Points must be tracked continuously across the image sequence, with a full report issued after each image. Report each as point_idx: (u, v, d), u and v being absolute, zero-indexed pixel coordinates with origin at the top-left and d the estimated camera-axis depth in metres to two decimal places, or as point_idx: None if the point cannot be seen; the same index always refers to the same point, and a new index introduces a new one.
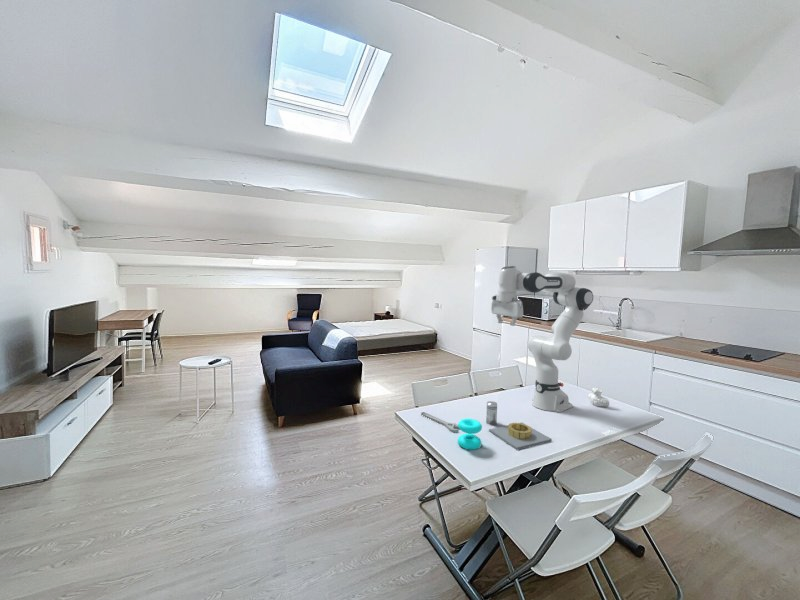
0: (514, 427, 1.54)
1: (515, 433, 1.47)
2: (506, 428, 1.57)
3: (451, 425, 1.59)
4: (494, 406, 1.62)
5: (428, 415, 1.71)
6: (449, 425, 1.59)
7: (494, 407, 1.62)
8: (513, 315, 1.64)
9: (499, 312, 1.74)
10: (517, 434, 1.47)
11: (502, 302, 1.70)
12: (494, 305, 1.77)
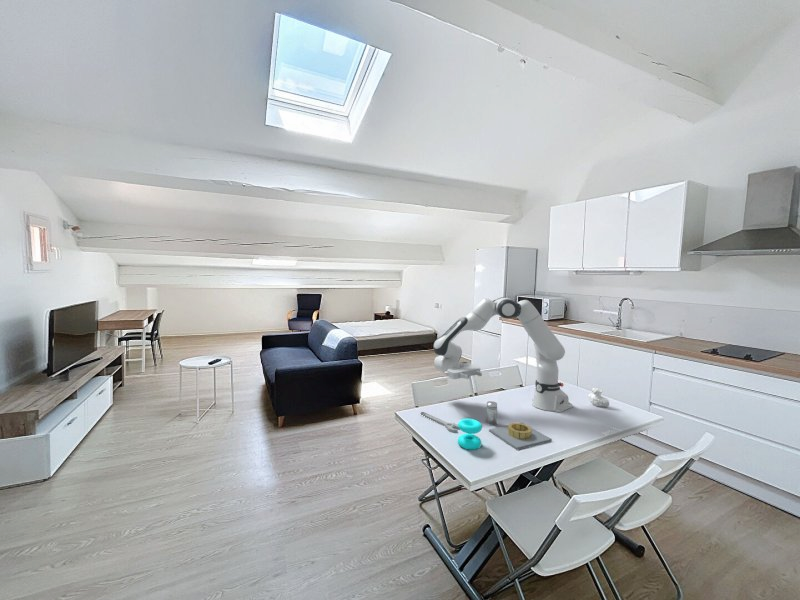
0: (514, 427, 1.54)
1: (515, 433, 1.47)
2: (506, 428, 1.57)
3: (450, 425, 1.59)
4: (494, 406, 1.62)
5: (427, 415, 1.71)
6: (448, 425, 1.59)
7: (494, 407, 1.62)
8: None
9: None
10: (517, 434, 1.47)
11: None
12: None
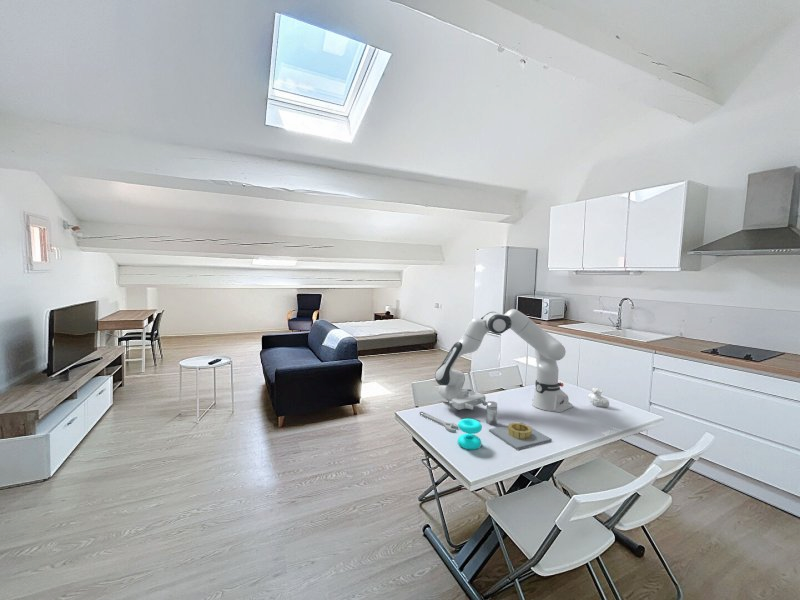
0: (514, 427, 1.54)
1: (515, 433, 1.47)
2: (506, 428, 1.57)
3: (449, 425, 1.59)
4: (494, 406, 1.62)
5: (426, 415, 1.71)
6: (447, 425, 1.59)
7: (494, 407, 1.62)
8: None
9: None
10: (517, 434, 1.47)
11: None
12: None
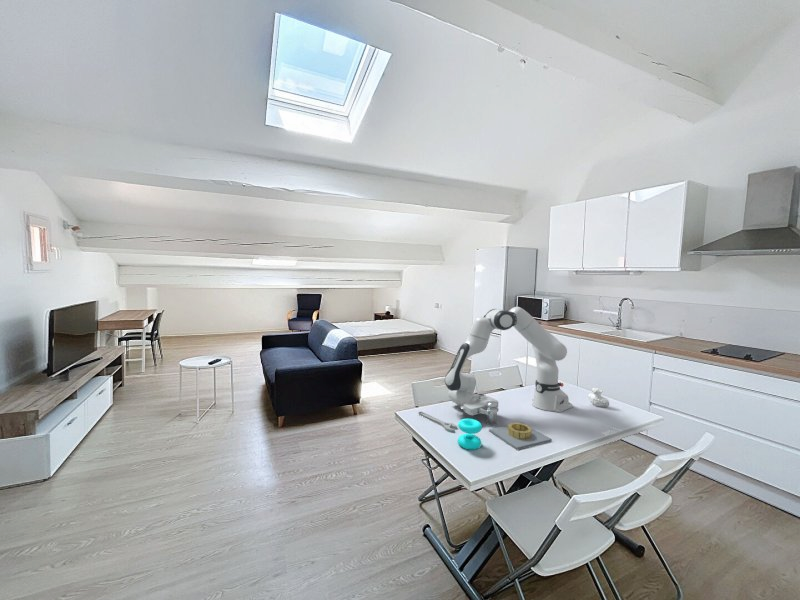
0: (514, 427, 1.54)
1: (515, 433, 1.47)
2: (506, 428, 1.57)
3: (448, 425, 1.59)
4: (494, 406, 1.62)
5: (425, 415, 1.71)
6: (446, 425, 1.59)
7: (494, 407, 1.62)
8: None
9: None
10: (517, 434, 1.47)
11: None
12: None
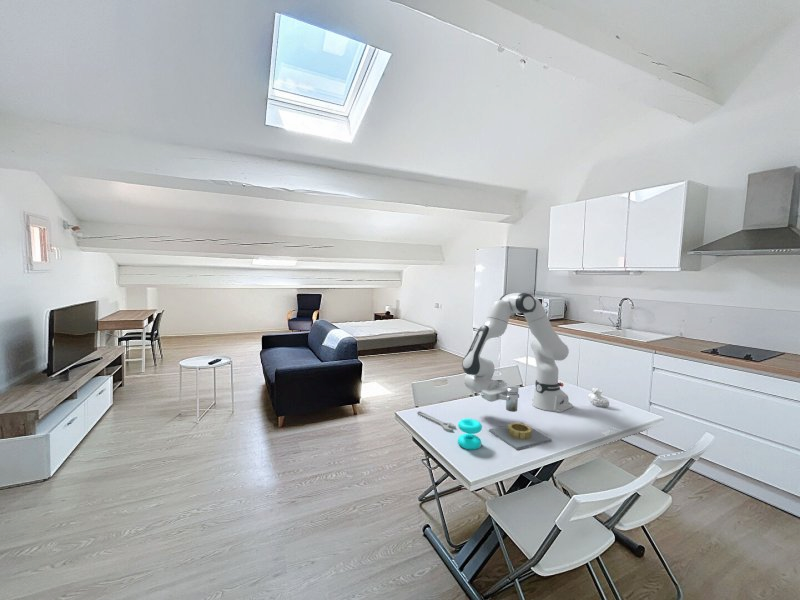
0: (514, 427, 1.54)
1: (515, 433, 1.47)
2: (506, 428, 1.57)
3: (446, 424, 1.60)
4: (515, 391, 1.52)
5: (424, 414, 1.71)
6: (444, 424, 1.59)
7: (515, 392, 1.52)
8: None
9: None
10: (517, 434, 1.47)
11: None
12: None
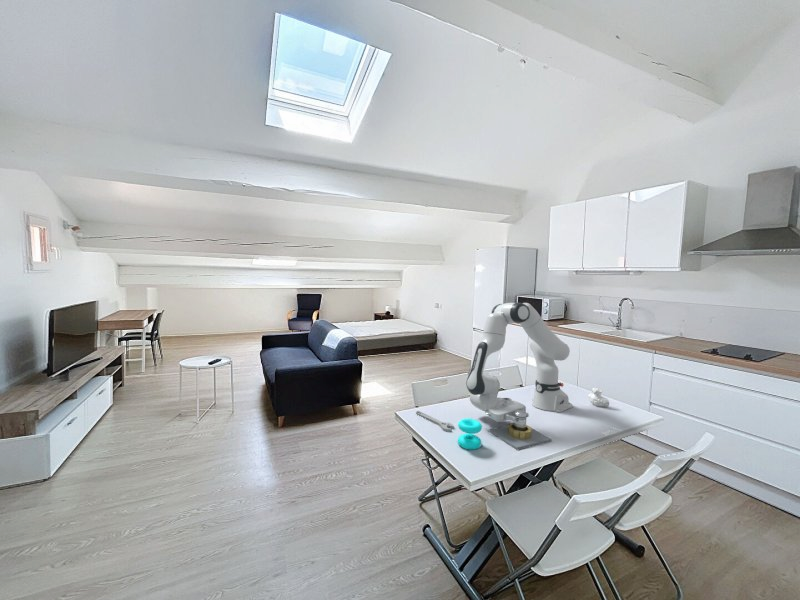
0: None
1: (515, 433, 1.47)
2: (506, 428, 1.57)
3: (445, 424, 1.60)
4: (523, 416, 1.48)
5: (423, 414, 1.72)
6: (443, 424, 1.59)
7: (523, 417, 1.48)
8: None
9: None
10: (517, 434, 1.47)
11: None
12: None
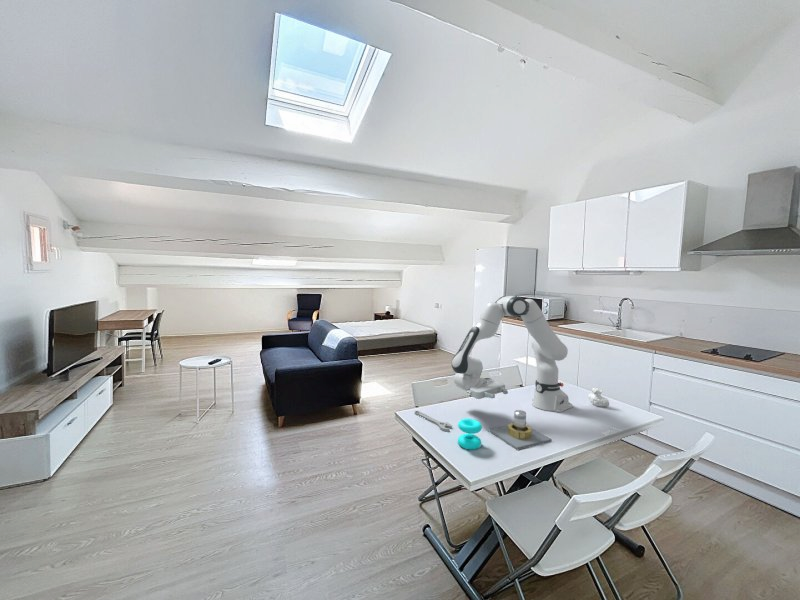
0: None
1: (515, 433, 1.47)
2: (506, 428, 1.57)
3: (443, 424, 1.60)
4: (523, 415, 1.49)
5: (421, 414, 1.72)
6: (441, 424, 1.60)
7: (523, 417, 1.49)
8: None
9: None
10: (517, 434, 1.47)
11: None
12: None
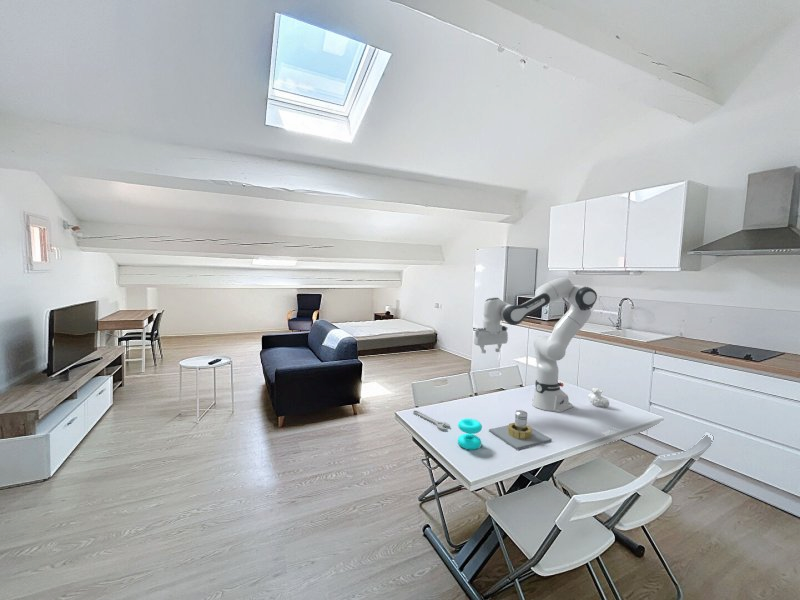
0: (514, 427, 1.54)
1: (515, 433, 1.47)
2: (506, 428, 1.57)
3: (441, 424, 1.60)
4: (524, 416, 1.48)
5: (420, 414, 1.72)
6: (439, 424, 1.60)
7: (524, 417, 1.48)
8: None
9: None
10: (517, 434, 1.47)
11: None
12: None
